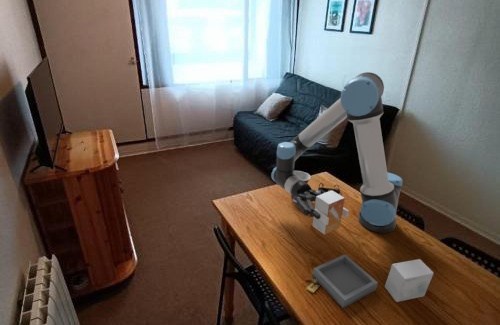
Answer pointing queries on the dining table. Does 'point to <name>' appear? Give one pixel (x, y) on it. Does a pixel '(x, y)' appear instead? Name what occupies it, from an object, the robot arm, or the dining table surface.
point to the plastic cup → (302, 176)
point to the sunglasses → (329, 189)
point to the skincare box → (408, 280)
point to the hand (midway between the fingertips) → (337, 217)
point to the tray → (344, 280)
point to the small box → (329, 211)
